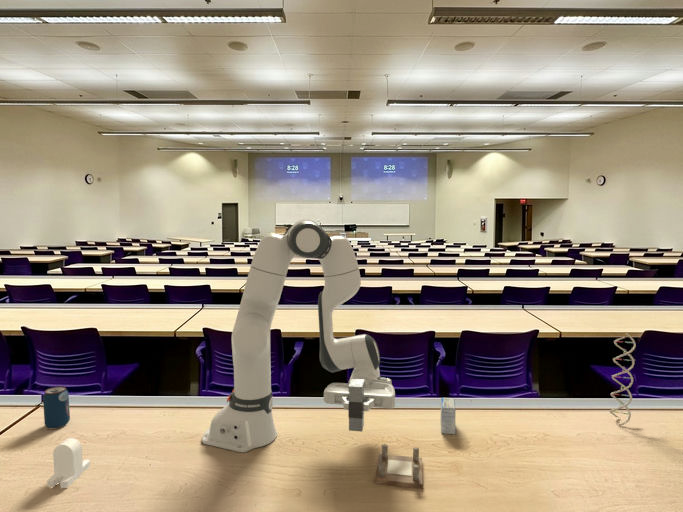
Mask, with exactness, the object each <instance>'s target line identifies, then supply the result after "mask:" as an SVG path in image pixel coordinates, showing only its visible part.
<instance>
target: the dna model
mask: <svg viewBox="0 0 683 512" xmlns="http://www.w3.org/2000/svg"><path fill="white" fill-rule="evenodd" d="M625 335H626V336H628V338H629V339H630V340H631V341H625V343H627V344H633V347H631V349H630V350H629V351H627V349H625V348H623V347H621V346H620V345H618V343H623V341H620V340H623V339H626V336H622V337H619V338H616V339H615V340H613V343H614V345H615V346H616V347H617V348H619V349H620V350H622V351H623V353H622V354H620V355H618V356H616V357H613V358H612V361H613V363H614V364H616V365H617V366H618V367H620V368H621V369H622V371H621V372H618V373H616V374H613V375H612V374H611V378H612V380H613V381H614V382H616V383H617V384H619V385H620V389H619V390H615V391H613V392H611V393H610V396H611V397H612V398H613V399H614V400H617V402H618V403H620V404H619V407H618V406H617V407H615V408H612V409H609V413H610V414H612V416H613V417H616V418H617V417H618V418H620V417H619V416H618V415H617V414H623V415H628V418H627V419H626V420H624V421H623V422H622V423H620V424H621V426H624V425H626V424H627V423H628V422H630V419H631V417H632V413H631V411H630V409H629V407H628V406H629V405H630V404H631V403H632V400H633V395H632V393H631V392H630V390H629V388H631V387H632V385H633V384H634V377H633V375H632V373H631V372H630V371H631V370H632V369H634V365H635V361H636V359H635V358H634V357H633V356H632V354H631V353H633V351H635V349H636V346H637V345H636V341H635V339H634V338H633V336H631V335H630V334H628V333H627V332H626V333H625ZM624 356H628V357H629V358H630V359H624V358H623V359H622V357H624ZM616 360H619V361H627V362H629V361H631V365H630V367H628V369H627V368H626V367H625V366H622V365H621V364H620V363H619V362H618V361H616ZM622 374H628V375H629V376H630V377H629V376H628V377H626V376H623V379H630V383H629V384H628V386H625V385H624V384H623V383H621V382H620V381H619V380H617V379H616V378H620V379H621V378H622V376H620V375H622ZM623 391H627V393H628V395H627V394H622V396H625V397H629V400H628V401H627V403H624V402H623V401H622V400H620V399H619V398H617V397H616V396H621V394H618V393H621V392H623ZM615 395H616V396H615ZM624 408H625V409H626V411H627V412H628V413H627V412H622V411H621V412H620V411H618V410H621V409H624ZM615 413H616V414H615ZM618 418H617V419H618Z"/></svg>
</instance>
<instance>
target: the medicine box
mask: <svg viewBox="0 0 683 512" xmlns="http://www.w3.org/2000/svg"><path fill="white" fill-rule="evenodd" d="M456 414H457V413H456V403H455V398H452V397H440V431H441V432H440V433H441V434H444V435H445V434H446V435H456V417H457V416H456Z"/></svg>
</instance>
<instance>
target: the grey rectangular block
mask: <svg viewBox="0 0 683 512" xmlns="http://www.w3.org/2000/svg"><path fill="white" fill-rule="evenodd" d="M363 404H364V380H363V379H351V381H350V384H349V410H348V411H347V412H348V431H350V432H351V431H352V432H363V430H364V427H365V411H363Z"/></svg>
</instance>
